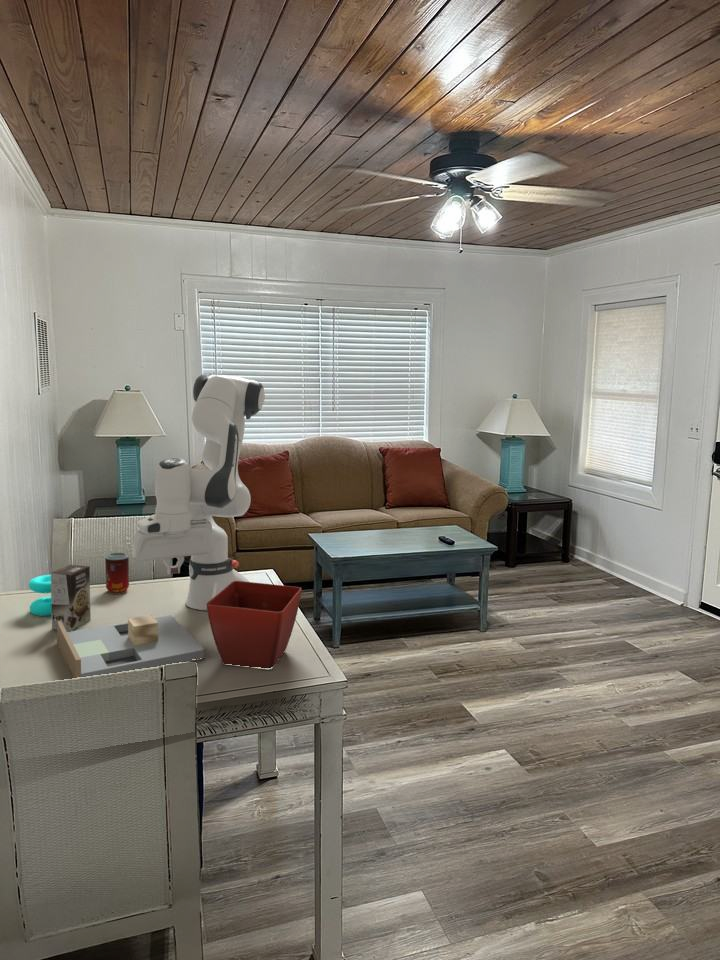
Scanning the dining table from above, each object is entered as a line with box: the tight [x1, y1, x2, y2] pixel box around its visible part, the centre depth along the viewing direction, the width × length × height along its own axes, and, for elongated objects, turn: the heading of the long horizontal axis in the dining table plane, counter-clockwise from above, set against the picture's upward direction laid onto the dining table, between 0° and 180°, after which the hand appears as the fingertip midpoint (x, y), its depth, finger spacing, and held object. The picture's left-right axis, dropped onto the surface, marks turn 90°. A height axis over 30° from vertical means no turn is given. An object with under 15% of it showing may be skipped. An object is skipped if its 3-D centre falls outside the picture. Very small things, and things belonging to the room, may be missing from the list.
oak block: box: [127, 614, 158, 645], centre depth 171 cm, size 6×6×5 cm
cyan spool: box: [28, 574, 52, 617], centre depth 195 cm, size 10×10×10 cm
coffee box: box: [50, 564, 92, 632], centre depth 185 cm, size 9×6×16 cm
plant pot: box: [206, 581, 303, 668], centre depth 168 cm, size 19×19×17 cm
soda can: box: [104, 552, 130, 595], centre depth 214 cm, size 7×7×12 cm
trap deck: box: [56, 614, 205, 679], centre depth 170 cm, size 30×27×6 cm
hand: (173, 573), depth 174 cm, fingers closed
